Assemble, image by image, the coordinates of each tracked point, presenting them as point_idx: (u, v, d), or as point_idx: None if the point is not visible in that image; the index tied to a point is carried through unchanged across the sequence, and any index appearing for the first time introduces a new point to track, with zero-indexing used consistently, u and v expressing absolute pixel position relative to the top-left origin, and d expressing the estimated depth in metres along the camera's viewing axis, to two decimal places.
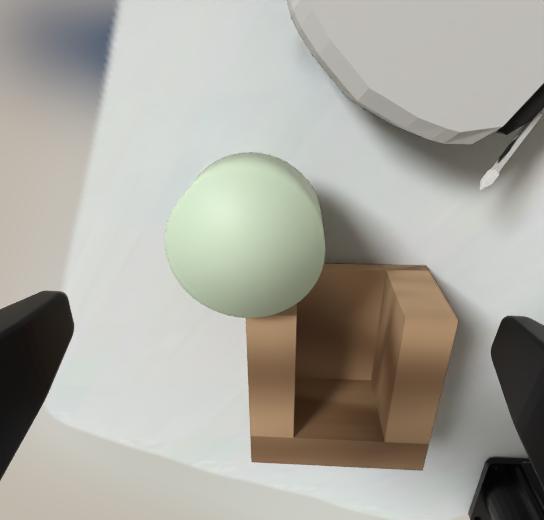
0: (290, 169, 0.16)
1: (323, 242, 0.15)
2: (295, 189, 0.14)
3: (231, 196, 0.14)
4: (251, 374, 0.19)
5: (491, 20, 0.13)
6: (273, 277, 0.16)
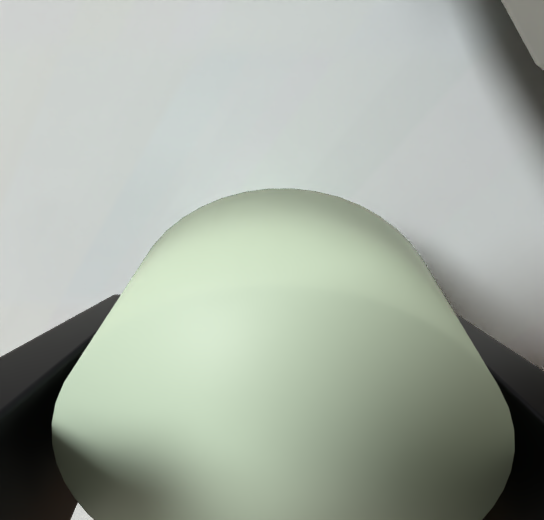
0: (396, 240, 0.06)
1: (506, 468, 0.05)
2: (457, 337, 0.05)
3: (253, 350, 0.05)
4: None
5: None
6: None
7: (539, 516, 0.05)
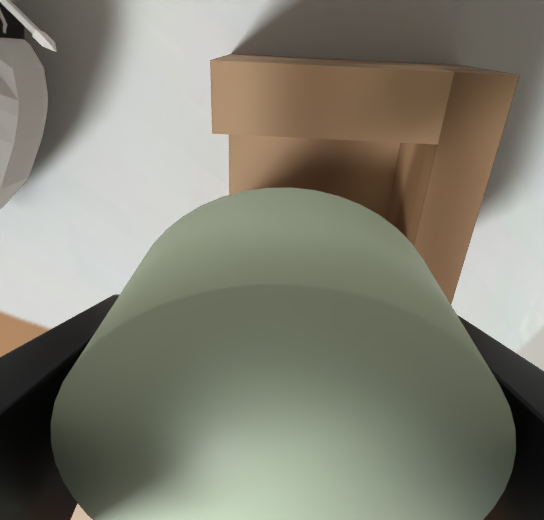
0: (397, 239, 0.06)
1: (508, 468, 0.05)
2: (458, 336, 0.05)
3: (254, 351, 0.04)
4: None
5: None
6: None
7: (539, 516, 0.05)
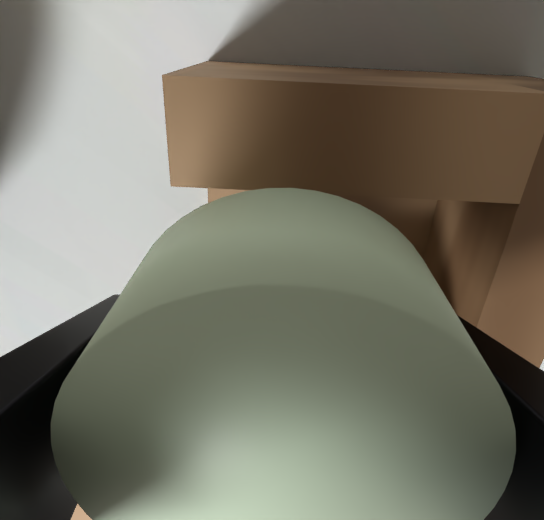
0: (397, 240, 0.06)
1: (508, 469, 0.05)
2: (458, 336, 0.05)
3: (253, 351, 0.04)
4: None
5: None
6: None
7: (539, 516, 0.05)
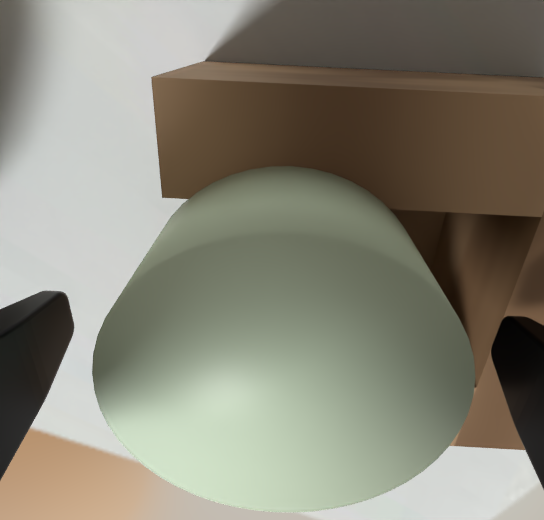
0: (381, 209, 0.07)
1: (469, 393, 0.06)
2: (425, 277, 0.06)
3: (260, 287, 0.06)
4: None
5: None
6: (339, 451, 0.07)
7: None
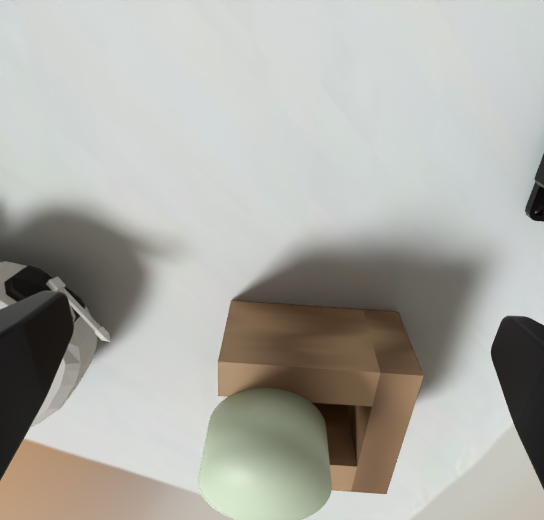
0: (304, 409, 0.19)
1: (330, 485, 0.18)
2: (310, 452, 0.18)
3: (258, 455, 0.18)
4: None
5: None
6: (286, 502, 0.19)
7: None
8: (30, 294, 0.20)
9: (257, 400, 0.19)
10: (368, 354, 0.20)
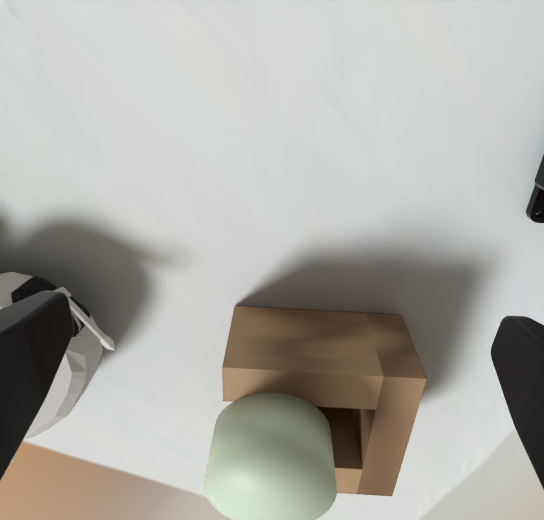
0: (308, 414, 0.19)
1: (335, 489, 0.18)
2: (315, 456, 0.18)
3: (263, 459, 0.18)
4: None
5: None
6: (292, 506, 0.19)
7: None
8: None
9: (261, 405, 0.19)
10: (371, 358, 0.20)
